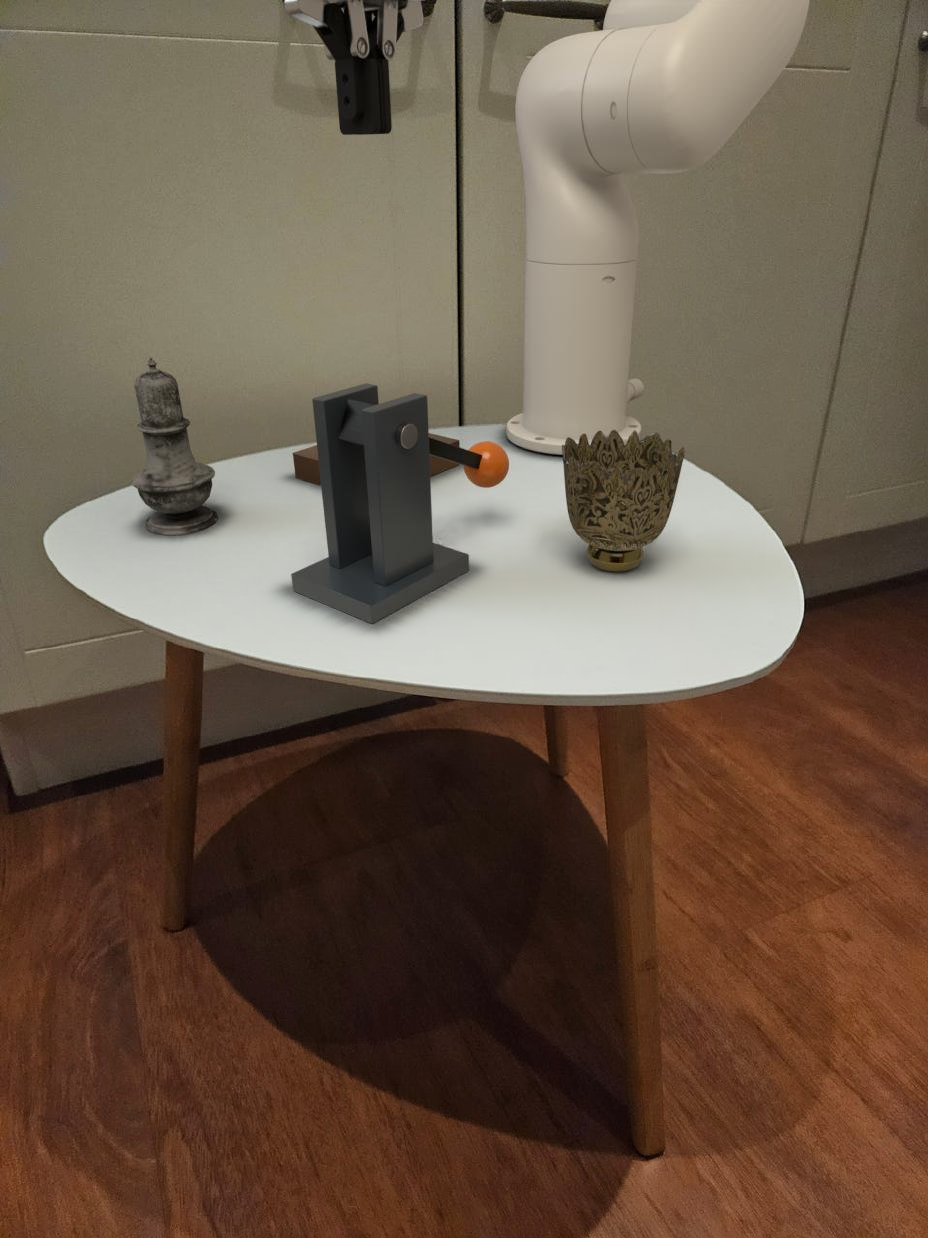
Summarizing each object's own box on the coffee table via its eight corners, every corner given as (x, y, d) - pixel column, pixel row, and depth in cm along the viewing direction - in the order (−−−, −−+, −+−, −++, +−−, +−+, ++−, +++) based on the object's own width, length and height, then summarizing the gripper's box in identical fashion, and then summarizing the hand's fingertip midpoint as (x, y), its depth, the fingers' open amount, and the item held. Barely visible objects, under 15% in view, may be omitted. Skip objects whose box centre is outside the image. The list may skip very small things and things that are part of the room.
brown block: (385, 445, 79) (383, 402, 77) (460, 464, 74) (459, 419, 72) (295, 477, 72) (289, 431, 70) (371, 501, 67) (367, 451, 65)
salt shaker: (200, 539, 61) (168, 368, 55) (125, 534, 62) (87, 366, 56) (235, 508, 66) (210, 349, 60) (165, 504, 67) (134, 347, 61)
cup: (689, 583, 54) (704, 460, 50) (575, 593, 53) (582, 469, 49) (647, 536, 60) (658, 424, 56) (546, 545, 59) (549, 431, 55)
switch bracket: (391, 544, 60) (380, 373, 54) (469, 570, 56) (466, 389, 50) (292, 590, 54) (268, 403, 48) (372, 624, 50) (356, 425, 44)
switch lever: (475, 485, 62) (487, 442, 62) (510, 495, 60) (523, 450, 60) (329, 444, 50) (342, 390, 49) (368, 454, 48) (382, 398, 48)
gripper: (279, -324, 39) (319, 133, 48) (480, -232, 49) (482, 132, 58) (184, -276, 44) (236, 136, 53) (386, -201, 54) (402, 134, 63)
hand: (365, 133), depth 55 cm, fingers closed
